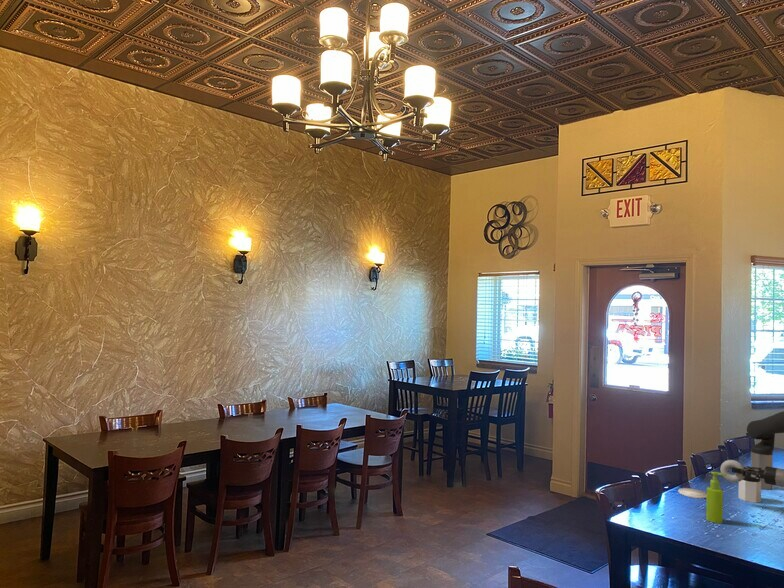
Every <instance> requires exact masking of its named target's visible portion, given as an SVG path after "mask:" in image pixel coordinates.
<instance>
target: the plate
mask: <svg viewBox="0 0 784 588" xmlns="http://www.w3.org/2000/svg"><path fill="white" fill-rule="evenodd" d="M678 492H679V493H680V495H681V494H682V495H681V496H683V495H684V496H683V497H686V496H687V497H688V498H691V499H697V498H699V499H698V500H701V499H702V498H703V500H704V498H706V499H707V491H704V490H699V489H695V488H688V487H683V488H679V489H678V490H677V493H678ZM679 493H678V494H679ZM687 497H686V498H687Z"/></svg>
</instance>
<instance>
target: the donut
mask: <svg viewBox="0 0 784 588" xmlns="http://www.w3.org/2000/svg"><path fill="white" fill-rule="evenodd" d="M733 467H734V468H740V469H744V467H745V466H743V464H742V463H740V462H739V461H738V460H735V459H727V460H725V461H723V462H722V463H721V465H720V469H719V470H720V473H723V474H725V475H726V476H722V477H723V478H724V480H727V481H728V482H731V483H739V482H740V481H741V480H743V479H744V477H745V476H742V475H741V474H738V473H734V474H732V473H730V469H732V468H733Z"/></svg>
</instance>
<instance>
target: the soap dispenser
mask: <svg viewBox="0 0 784 588" xmlns="http://www.w3.org/2000/svg"><path fill="white" fill-rule="evenodd" d="M711 475H712V478H711V479H709V480H710V482H709V483H710V485H709V486H707V487H706V493H707V498H706V507H705V508H706V513H705V514H706V517H705V520H706V519H707V520H708V521H707V520H706V521H707V522H709V521H711V522H710V523H713V522H714V523H713V524H723V515H724V514H723V511H724V509H723V508H724V507H723V506H724V505H723V504H724V492H723V491H724V490H723V489H722V488H721V487H720V480H718V476H722V477H723V476H726V475H725V474H723V473H721V472H718V471H711Z"/></svg>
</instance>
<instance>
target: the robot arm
mask: <svg viewBox="0 0 784 588" xmlns="http://www.w3.org/2000/svg"><path fill="white" fill-rule="evenodd" d="M746 433H747V435H748V436H749V437H750V438H752V439H754V440H758V441H759V440H760V442H758V443H755V444H753V445H752V446H751V447H750V466H748V465H747V466H743V467H744V469H740V468H734V467H731V473H734V474H736V473H738V474H741V475H742V476H745V477H749V478H752V479H760V481H761V490H772V489H773V486H776V487H782V488H784V468H779V467H773V465H774V464H773V459H774V457H773V454H774V453H773V452H774V449H775V439H776V437H775V436H776V434H784V410H782V411H780V412H777V413H775V414H772V415H769V416H767V417H765V418H761V419H758V420H757V419H756V420H751V421H750V422H749V423H748V424H747V427H746ZM745 473H747V474H745Z"/></svg>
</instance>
